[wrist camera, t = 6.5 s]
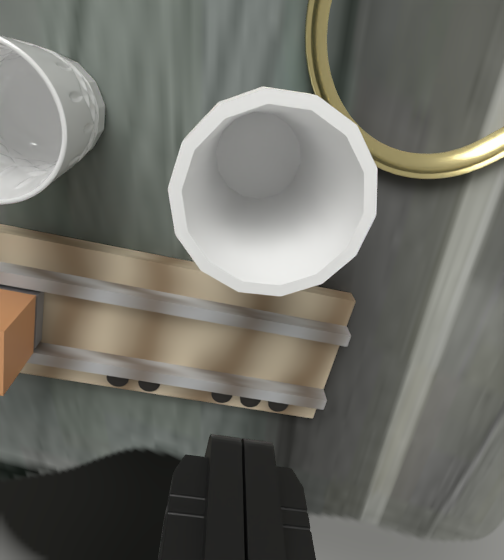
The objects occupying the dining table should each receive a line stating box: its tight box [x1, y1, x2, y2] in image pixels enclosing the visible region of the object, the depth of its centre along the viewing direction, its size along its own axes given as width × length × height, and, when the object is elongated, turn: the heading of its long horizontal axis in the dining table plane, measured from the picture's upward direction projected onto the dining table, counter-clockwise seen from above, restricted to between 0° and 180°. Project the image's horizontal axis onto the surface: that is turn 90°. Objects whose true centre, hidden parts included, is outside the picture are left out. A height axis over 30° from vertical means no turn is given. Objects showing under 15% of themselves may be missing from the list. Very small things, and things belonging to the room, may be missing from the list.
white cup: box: [0, 35, 105, 204], centre depth 26 cm, size 8×8×10 cm
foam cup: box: [168, 87, 378, 296], centre depth 26 cm, size 10×9×13 cm
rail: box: [0, 224, 356, 419], centre depth 36 cm, size 32×12×3 cm, turn 77°
